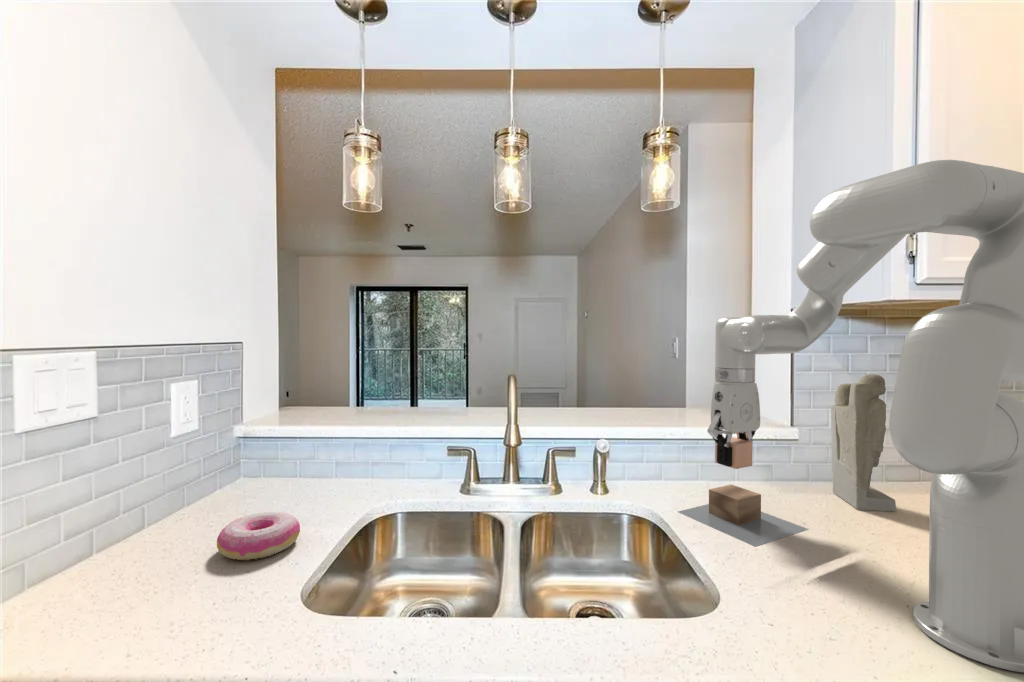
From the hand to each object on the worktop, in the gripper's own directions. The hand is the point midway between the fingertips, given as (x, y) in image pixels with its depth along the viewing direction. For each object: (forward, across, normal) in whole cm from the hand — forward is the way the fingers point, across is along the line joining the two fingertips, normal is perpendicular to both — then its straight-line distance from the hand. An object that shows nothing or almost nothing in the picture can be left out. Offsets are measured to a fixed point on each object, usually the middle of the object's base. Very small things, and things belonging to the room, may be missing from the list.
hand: (733, 462), depth 95 cm
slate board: (+12, -1, -2) cm, 12 cm away
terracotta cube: (0, 0, 0) cm, 0 cm away
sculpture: (+12, +35, -7) cm, 38 cm away
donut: (+13, -88, +31) cm, 95 cm away
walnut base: (+11, 0, 0) cm, 11 cm away
